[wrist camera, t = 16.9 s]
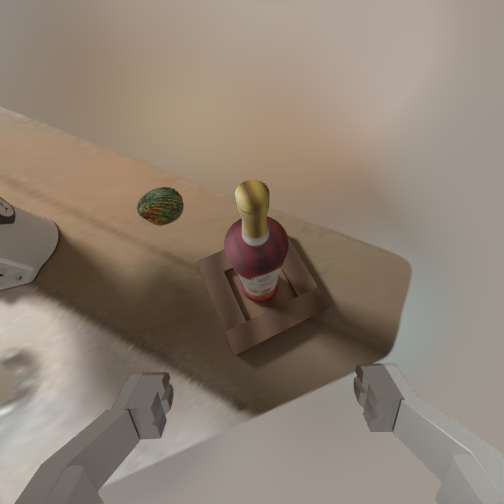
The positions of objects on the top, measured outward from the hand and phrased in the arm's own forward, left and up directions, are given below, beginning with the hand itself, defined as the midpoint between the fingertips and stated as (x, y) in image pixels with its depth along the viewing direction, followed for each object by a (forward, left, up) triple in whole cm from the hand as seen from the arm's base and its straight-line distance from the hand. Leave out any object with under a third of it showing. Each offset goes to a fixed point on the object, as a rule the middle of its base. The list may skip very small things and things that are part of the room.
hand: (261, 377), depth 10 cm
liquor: (+5, +12, -32) cm, 34 cm away
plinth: (+5, +11, -34) cm, 36 cm away
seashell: (-7, +38, -34) cm, 52 cm away
